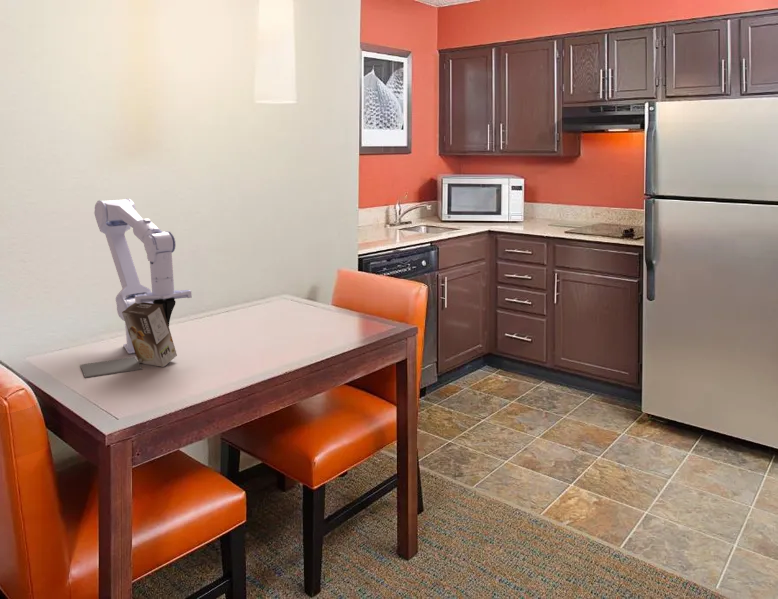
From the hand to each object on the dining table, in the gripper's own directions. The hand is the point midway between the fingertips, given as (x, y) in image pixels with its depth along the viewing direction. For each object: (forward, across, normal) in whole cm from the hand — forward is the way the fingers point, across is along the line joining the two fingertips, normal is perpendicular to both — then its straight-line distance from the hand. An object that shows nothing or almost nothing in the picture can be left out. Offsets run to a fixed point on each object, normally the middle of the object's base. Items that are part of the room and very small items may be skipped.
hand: (165, 325), depth 187 cm
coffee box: (+9, -3, 0) cm, 10 cm away
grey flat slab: (+10, -15, +1) cm, 18 cm away
